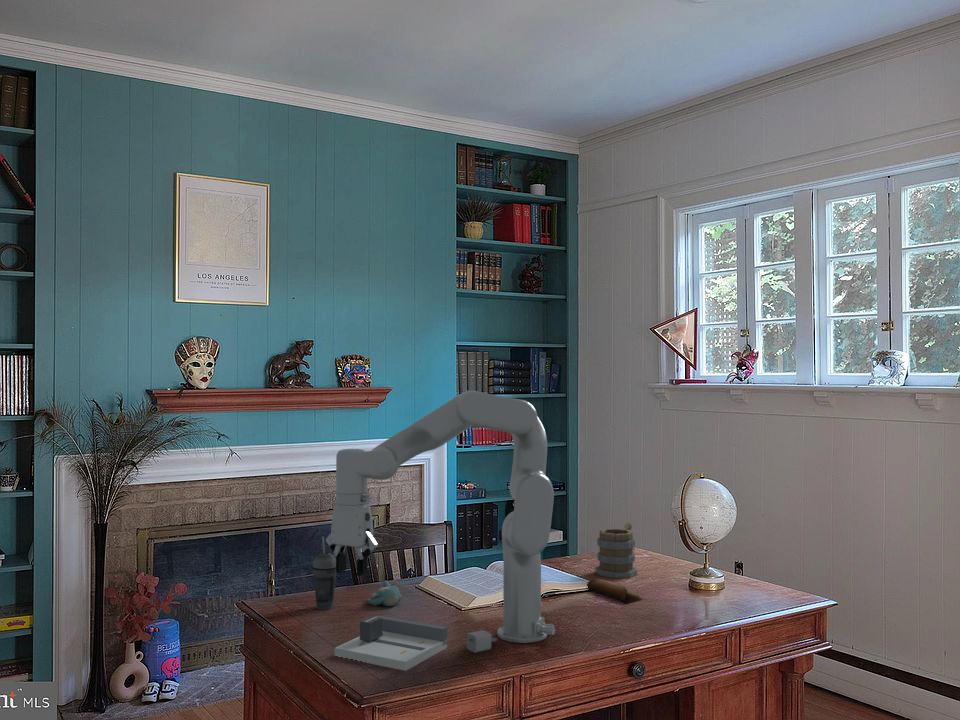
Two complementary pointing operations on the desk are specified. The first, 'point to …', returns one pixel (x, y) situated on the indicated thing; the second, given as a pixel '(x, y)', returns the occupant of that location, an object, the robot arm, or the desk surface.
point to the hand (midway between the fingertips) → (351, 572)
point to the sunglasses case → (613, 590)
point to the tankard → (616, 553)
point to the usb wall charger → (479, 641)
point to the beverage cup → (324, 579)
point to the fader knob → (371, 628)
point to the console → (397, 644)
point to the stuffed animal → (385, 595)
